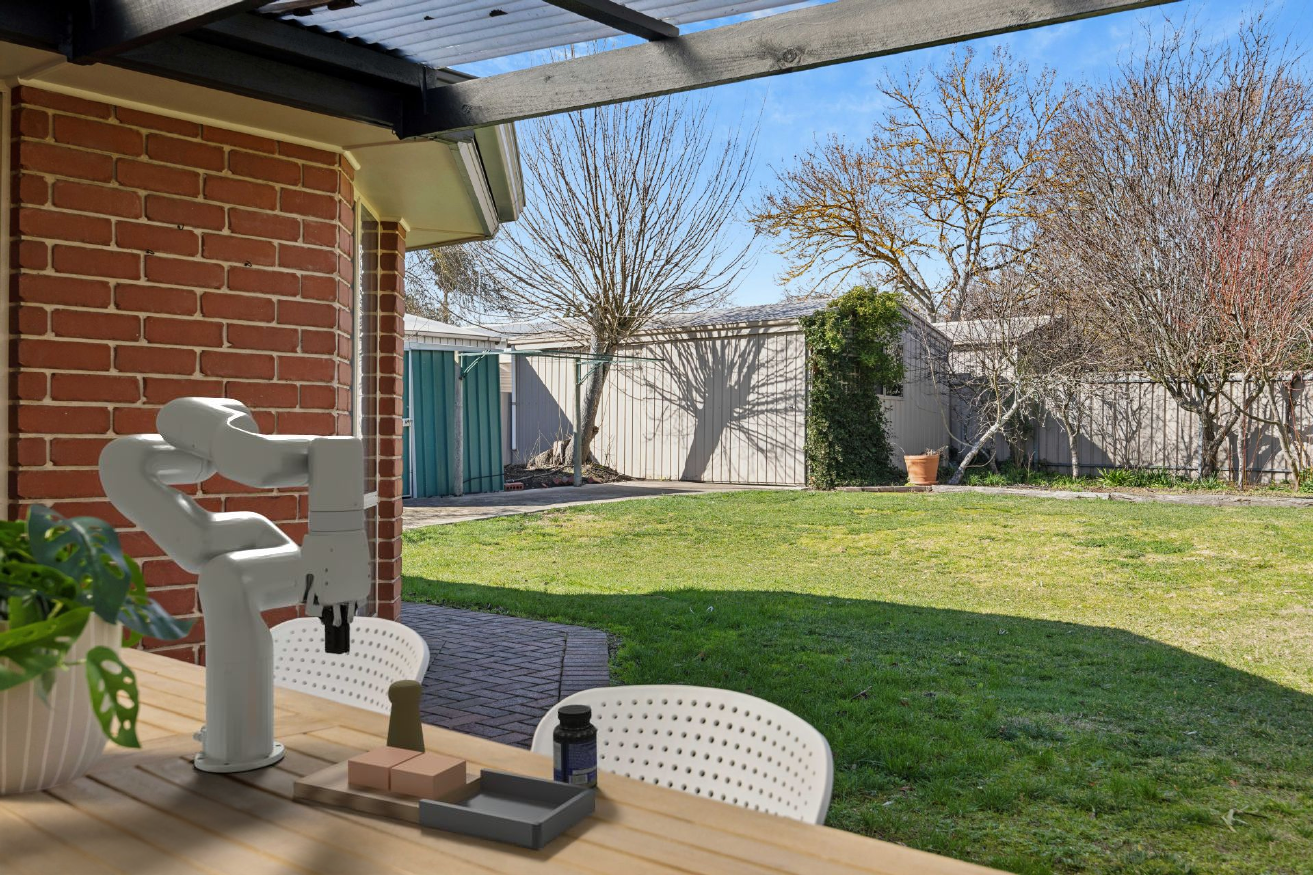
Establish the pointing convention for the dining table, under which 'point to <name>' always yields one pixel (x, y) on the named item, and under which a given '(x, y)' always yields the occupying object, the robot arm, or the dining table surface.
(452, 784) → the tile front
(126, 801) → the dining table surface
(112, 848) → the dining table surface
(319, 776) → the board
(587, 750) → the pill bottle
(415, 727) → the cork
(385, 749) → the tile rear
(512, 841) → the tray
